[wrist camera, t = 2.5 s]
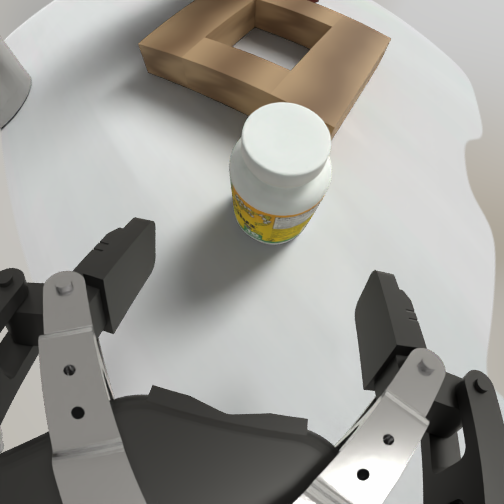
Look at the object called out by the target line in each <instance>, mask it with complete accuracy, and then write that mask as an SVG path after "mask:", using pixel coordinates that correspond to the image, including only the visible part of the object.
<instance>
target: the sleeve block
mask: <svg viewBox="0 0 504 504" xmlns="http://www.w3.org/2000/svg"><path fill="white" fill-rule="evenodd" d="M254 27H256V28H259V29H262V30H264V31H267V32H270V33H273V34H275V35H278V36H280V37H283V38H285V39H288V40H290V41H293V42H295V43H297V44H300V45H302V46H304V47H307V48H309V49H310V51H309V52H308V53H307V54H306V55H305V56H304V57H303V58H302V59H301V60H300V61H299V62H298V64H297V65H296V66H295V67H294V68H293V69H292V70H291V71H290V70H288V69H286V68H283V67H281V66H279V65H277V64H274V63H272V62H270V61H267V60H265V59H262V58H260V57H258V56H255V55H253V54H250V53H247V52H245V51H242V50H240V49H237V48H234V47H232V46H233V45H234V44H236V43H237V42H238V41H239V40H240V39H241V38H242V37H244V36H245V35H246V34H247V33H248V32H250V31H251V30H252V29H253V28H254ZM390 40H391V38H389V37H387V36H385V35H383V34H382V33H380V32H378V31H376V30H374V29H372V28H370V27H368V26H366V25H364V24H362V23H360V22H358V21H356V20H354V19H351V18H349V17H347V16H345V15H343V14H340V13H338V12H336V11H333V10H331V9H329V8H326V7H324V6H321V5H319V4H316V3H313V2H311V1H308V0H195V1H193V2H192V3H190V4H189V5H187V6H186V7H185V8H183V9H182V10H180V11H179V12H178V13H176V14H175V15H173V16H172V17H171V18H169V19H168V20H167V21H165V22H164V23H163V24H162V25H160V26H159V27H158V28H157V29H155V30H154V31H153V32H152V33H150V34H149V35H148V36H147V37H145V38H144V39H143V40H142V41H141V42H140V43H138V45H139V48H140V51H141V54H142V56H143V59H144V62H145V65H146V68H147V70H148V73H151V74H154V75H156V76H159V77H161V78H164V79H167V80H169V81H172V82H174V83H177V84H179V85H182V86H184V87H186V88H189V89H191V90H193V91H196V92H198V93H200V94H203V95H205V96H207V97H210V98H212V99H214V100H216V101H218V102H221V103H223V104H225V105H227V106H229V107H231V108H233V109H236V110H238V111H240V112H242V113H244V114H246V115H248V116H250V115H251V114H252V113H253V112H254V111H256V110H257V109H259V108H260V107H262V106H265V105H268V104H271V103H278V102H286V103H294V104H298V105H301V106H303V107H305V108H308V109H310V110H311V111H313V112H314V113H315V114H317V115H318V116H319V117H320V118H321V119H322V120H323V121H324V123H325V124H326V126H327V128H328V130H329V133H330V137H331V140H332V139H333V137H334V136H335V134H336V132H337V131H338V129H339V128H340V126H341V124H342V123H343V121H344V120H345V118H346V116H347V115H348V113H349V112H350V110H351V108H352V107H353V105H354V104H355V102H356V100H357V99H358V97H359V96H360V94H361V92H362V91H363V89H364V87H365V86H366V84H367V83H368V81H369V79H370V78H371V76H372V75H373V73H374V71H375V70H376V68H377V67H378V65H379V63H380V61H381V59H382V57H383V55H384V53H385V51H386V48H387V46H388V44H389V42H390Z"/></svg>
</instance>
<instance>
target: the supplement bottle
mask: <svg viewBox="0 0 504 504" xmlns="http://www.w3.org/2000/svg"><path fill="white" fill-rule="evenodd" d="M330 150H331V137H330V133H329V130H328V128H327V126H326V124H325V123H324V121H323V120H322V119H321V118H320V117H319V116H318V115H317V114H315V113H314V112H313V111H311V110H310V109H308V108H305V107H303V106H301V105H298V104H294V103H286V102H278V103H271V104H268V105H265V106H262V107H260V108H259V109H257V110H256V111H254V112H253V113H252V114H251V115H250V116H249V117H248V118H247V120H246V121H245V124H244V126H243V129H242V135H241V138H240V139H239V140H238V142H237V143H236V145H235V146H234V148H233V151H232V154H231V157H230V165H229V171H230V181H231V190H232V197H233V206H234V213H235V217H236V220H237V222H238V224H239V226H240V227H241V229H242V230H243V231H244V232H245V233H246V234H248V235H249V236H250V237H252V238H254V239H255V240H257V241H259V242H262V243H265V244H282V243H285V242H288V241H290V240H292V239H294V238H295V237H297V236H298V235H299V234H300V233H301V232H302V231H303V230H304V228H305V227H306V225H307V224H308V222H309V220H310V219H311V217H312V216H313V214H314V212H315V211H316V209H317V207H318V206H319V204H320V202H321V201H322V199H323V197H324V195H325V194H326V192H327V190H328V187H329V185H330V181H331V175H332V167H331V161H330V157H329V154H330Z"/></svg>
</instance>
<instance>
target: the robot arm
mask: <svg viewBox="0 0 504 504" xmlns="http://www.w3.org/2000/svg"><path fill="white" fill-rule="evenodd" d="M30 87H31V77H30V76H29V74H28V73H27V72H26V70H25V69H24V68H23V66H22V65H21V64H20V62H19V61H18V60H17V58H16V57H15V55H14V54H13V52H12V51H11V50H10V48H9V47H8V46H7V44H6V43H5V42H4V40H3V39H2V37H1V36H0V128H1V127H3V126H4V125H5V124H6V123H7V122H8V121H9V120H10V119H11V118H12V117H13V116H14V115H15V113H16V112H17V111H18V110H19V108H20V107H21V106H22V104H23V102H24V101H25V99H26V97H27V95H28V93H29V90H30ZM154 264H155V223H154V221H150V220H145V219H141V218H136V217H135V218H133V219H132V220H131V221H130V222H129V223H128V224H127V225H126V226H125V227H124V228H118V229H116V230H114V231H112V232H110V233H108V234H107V235H106V236H105V237H104V238H103V239H102V240H101V241H100V243H98V244H97V245H96V246H95V247H94V250H93V249H92V250H91V252H90V253H89V254H88V255H87V256H86V257H85V258H84V259H83V260H82V261H81V262H80V264H79V265H78V266H77V267H76V268H75V269H74V270H73V271H63V272H59V273H56V274H54V275H52V276H51V277H50V278H49V279H48V280H47V281H46V282H45V283H26V280H25V276H24V274H23V272H22V271H21V270H19V269H15V268H9V269H5V270H2V271H0V332H1V331H2V329H3V328H4V327H5V326H6V328H7V329H8V332H7V334H6V336H5V337H4V338H3V340H2V341H1V343H0V425H1V423H2V421H3V419H4V417H5V415H6V413H7V411H8V409H9V406H10V405H11V403H12V401H13V399H14V397H15V395H16V393H17V391H18V389H19V388H20V385H21V384H22V382H23V380H24V378H25V377H26V375H27V373H28V371H29V369H30V368H31V366H32V364H33V363H34V361H35V359H36V357H37V356H38V354H39V360H40V372H41V382H42V391H43V398H44V405H45V412H46V417H47V424H48V429H49V432H47V433H45V434H43V435H40V436H38V437H36V438H34V439H32V440H30V441H27V442H25V443H23V444H21V445H19V446H17V447H14V448H12V449H10V450H7V451H5V452H3V453H1V452H2V451H3V449H4V444H3V441H2V430H1V427H0V453H1V454H0V504H381V503H382V501H383V500H384V498H385V497H386V496H387V494H388V493H389V491H390V490H391V488H392V487H393V485H394V484H395V482H396V481H397V479H398V478H399V476H400V474H401V473H402V471H403V470H404V468H405V466H406V465H407V463H408V461H409V460H410V458H411V456H412V455H413V453H414V451H415V449H416V448H417V446H418V444H419V442H420V440H421V452H422V468H423V504H504V423H503V419H502V415H501V411H500V407H499V403H498V400H497V396H496V393H495V389H494V386H493V384H492V382H491V380H490V379H489V378H488V377H487V376H486V375H485V374H484V373H482V372H480V371H478V370H471V371H469V372H468V373H467V374H466V375H465V376H464V377H463V378H460V377H457V376H455V375H452V374H450V373H447V372H446V371H445V366H444V364H443V362H442V360H441V359H440V357H439V356H438V355H436V354H435V353H434V352H432V351H430V350H428V349H427V348H426V345H425V341H424V338H423V335H422V332H421V329H420V326H419V323H418V321H417V317H416V314H415V313H414V308H413V305H412V302H411V300H410V299H409V297H408V296H407V295H406V294H405V292H404V291H403V290H399V287H398V285H397V282H396V279H395V276H394V275H393V274H389V273H385V272H381V271H376V270H374V271H373V272H372V273H371V275H370V277H369V279H368V281H367V283H366V286H365V288H364V290H363V292H362V294H361V296H360V298H359V300H358V302H357V305H356V309H355V323H356V330H357V337H358V345H359V353H360V361H361V370H362V379H363V389H364V390H372V391H375V394H376V397H375V398H374V399H373V400H372V401H371V402H370V404H369V405H368V406H367V408H366V409H365V410H364V411H363V413H362V414H361V415H360V417H359V418H358V419H357V420H356V421H355V423H354V424H353V425H352V426H351V428H350V429H349V430H348V431H347V432H346V433H345V435H344V436H343V437H342V438H341V439H340V440H339V441H338V442H337V443H336V444H335V445H332V444H331V443H330V442H329V441H327V440H326V439H324V438H323V437H321V436H320V435H318V434H316V433H314V432H312V431H309V430H307V423H308V419H304V418H297V417H290V416H283V415H277V414H271V413H266V414H235V415H232V414H226V413H223V412H221V411H219V410H217V409H215V408H213V407H211V406H209V405H207V404H205V403H203V402H201V401H199V400H197V399H195V398H193V397H191V396H188V395H185V394H181V393H177V392H174V391H170V390H167V389H164V388H160V387H157V386H154V385H152V388H151V390H150V393H149V395H130V396H124V397H120V398H117V399H115V397H114V394H113V391H112V388H111V384H110V381H109V377H108V374H107V370H106V366H105V362H104V358H103V354H102V350H101V346H100V341H99V338H98V337H99V336H100V334H101V332H102V331H106V332H109V333H112V334H114V333H115V331H116V329H117V328H118V326H119V324H120V323H121V321H122V319H123V318H124V316H125V314H126V313H127V311H128V309H129V308H130V306H131V304H132V303H133V301H134V300H135V298H136V296H137V295H138V293H139V291H140V290H141V288H142V287H143V285H144V284H145V282H146V280H147V279H148V277H149V276H150V274H151V272H152V270H153V268H154ZM462 427H463V432H464V438H465V444H466V449H465V453H464V455H463V457H462V458H461V456H460V448H459V441H458V434H457V431H458V430H460V429H461V428H462Z"/></svg>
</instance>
